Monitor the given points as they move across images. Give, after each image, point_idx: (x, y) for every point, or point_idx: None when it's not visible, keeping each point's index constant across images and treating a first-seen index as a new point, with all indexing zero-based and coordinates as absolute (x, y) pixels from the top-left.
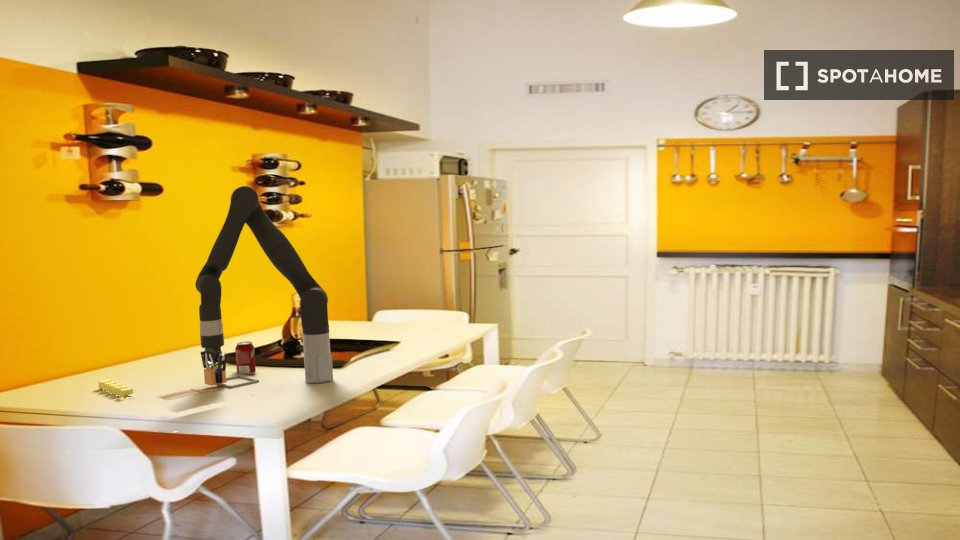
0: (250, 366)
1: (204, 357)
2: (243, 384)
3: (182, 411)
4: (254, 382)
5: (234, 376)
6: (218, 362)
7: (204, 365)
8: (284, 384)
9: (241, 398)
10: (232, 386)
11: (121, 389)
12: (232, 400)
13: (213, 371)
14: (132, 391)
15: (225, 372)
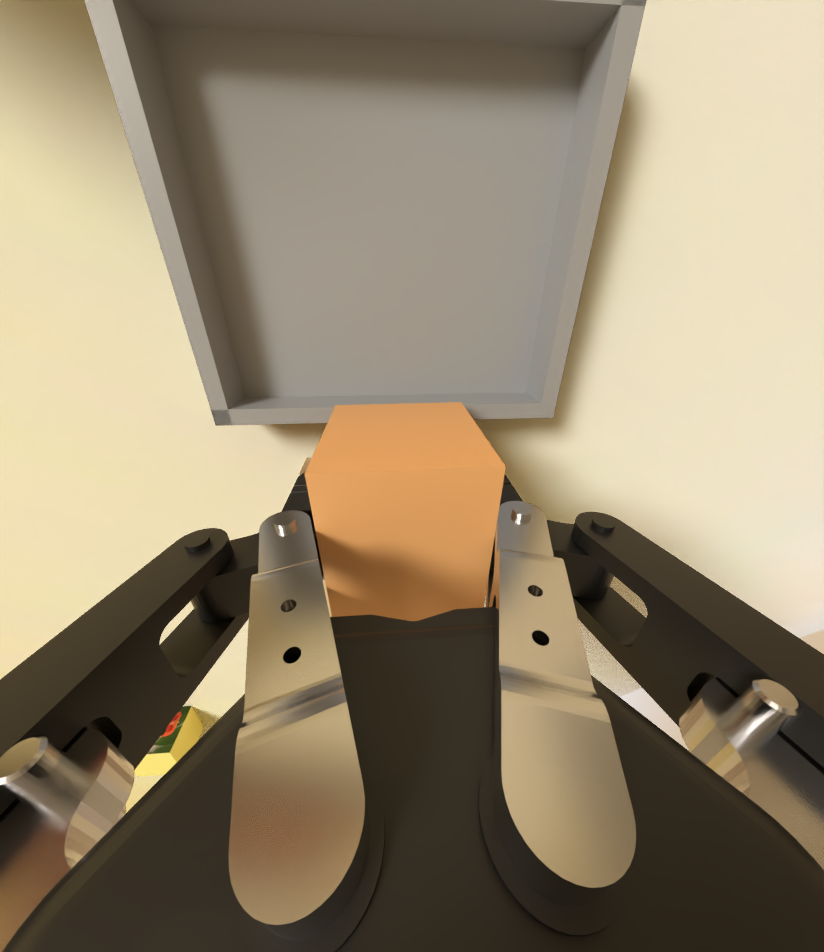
0: None
1: (124, 753)
2: (581, 268)
3: (597, 662)
4: (616, 86)
5: (126, 80)
6: (668, 693)
7: (230, 630)
8: None
9: (722, 430)
10: (556, 392)
11: (148, 773)
12: (693, 484)
13: (481, 588)
14: (177, 739)
15: (488, 442)
